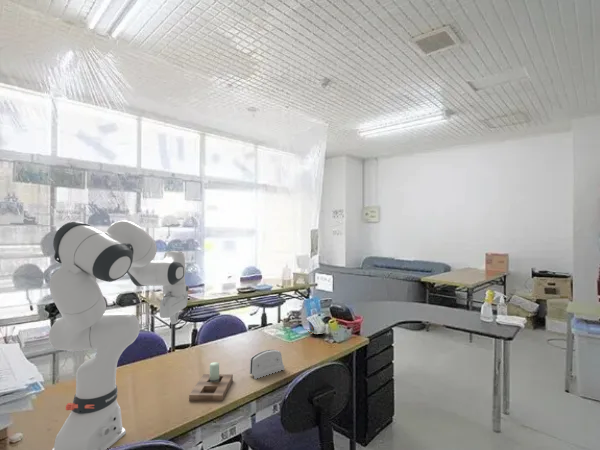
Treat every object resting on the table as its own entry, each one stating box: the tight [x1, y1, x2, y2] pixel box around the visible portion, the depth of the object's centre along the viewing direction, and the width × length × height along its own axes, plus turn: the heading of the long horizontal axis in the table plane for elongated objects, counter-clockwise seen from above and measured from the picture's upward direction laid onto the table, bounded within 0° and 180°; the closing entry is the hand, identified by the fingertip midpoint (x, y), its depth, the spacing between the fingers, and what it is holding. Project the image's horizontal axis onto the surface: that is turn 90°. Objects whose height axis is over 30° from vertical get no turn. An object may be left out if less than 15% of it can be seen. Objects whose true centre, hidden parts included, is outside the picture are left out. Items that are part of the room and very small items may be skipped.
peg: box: [209, 361, 220, 382], centre depth 143 cm, size 4×4×9 cm
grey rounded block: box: [248, 349, 285, 380], centre depth 156 cm, size 17×5×10 cm, turn 127°
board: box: [188, 373, 234, 402], centre depth 139 cm, size 18×13×2 cm
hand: (174, 323), depth 138 cm, fingers closed
